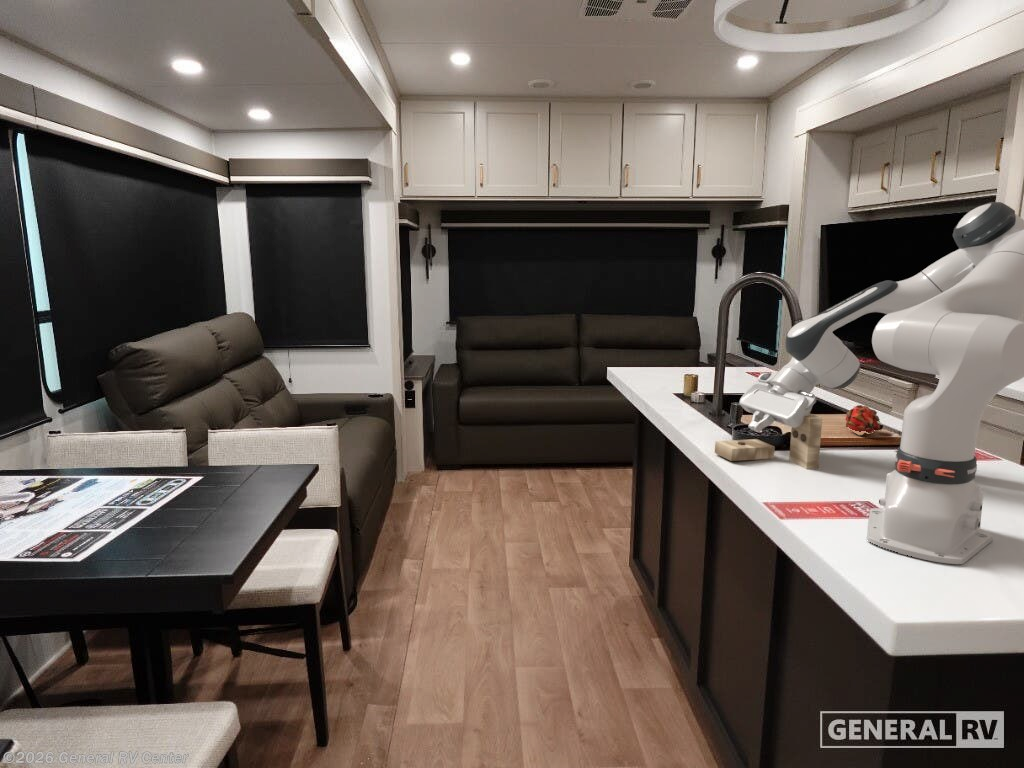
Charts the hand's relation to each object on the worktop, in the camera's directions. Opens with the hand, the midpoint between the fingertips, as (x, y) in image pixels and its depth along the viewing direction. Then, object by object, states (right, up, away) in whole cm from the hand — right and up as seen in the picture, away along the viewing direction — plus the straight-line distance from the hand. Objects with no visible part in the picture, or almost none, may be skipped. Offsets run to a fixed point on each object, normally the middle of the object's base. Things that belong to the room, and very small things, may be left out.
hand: (753, 429), depth 159 cm
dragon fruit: (+37, -3, +19) cm, 42 cm away
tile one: (+4, -5, +2) cm, 6 cm away
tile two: (+10, -8, -5) cm, 14 cm away
